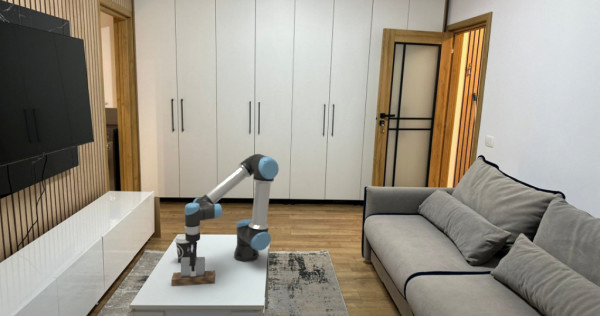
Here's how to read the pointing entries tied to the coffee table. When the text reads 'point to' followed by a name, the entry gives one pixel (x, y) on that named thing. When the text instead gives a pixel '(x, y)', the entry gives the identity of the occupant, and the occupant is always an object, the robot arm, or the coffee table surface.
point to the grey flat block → (186, 268)
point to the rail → (193, 279)
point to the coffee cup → (182, 247)
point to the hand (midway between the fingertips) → (193, 274)
